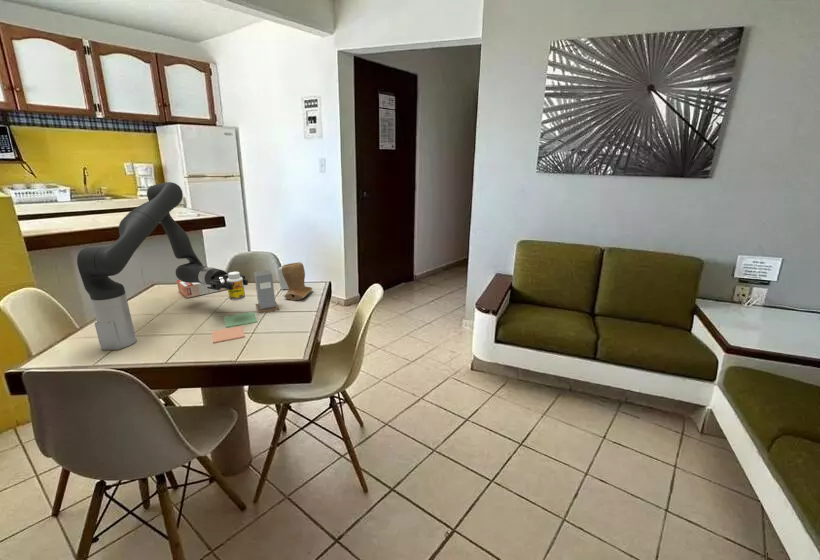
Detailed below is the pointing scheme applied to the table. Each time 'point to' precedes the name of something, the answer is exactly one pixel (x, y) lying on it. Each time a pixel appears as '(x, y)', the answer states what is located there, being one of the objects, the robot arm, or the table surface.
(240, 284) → the supplement bottle
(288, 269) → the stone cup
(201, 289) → the cracker box
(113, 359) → the table surface
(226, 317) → the green pad
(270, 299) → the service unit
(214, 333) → the terracotta pad
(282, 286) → the small box
